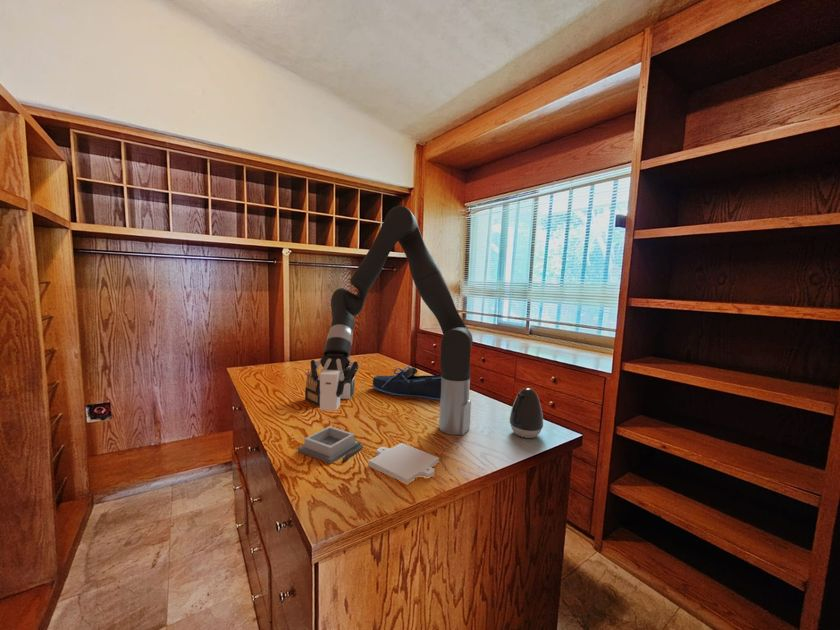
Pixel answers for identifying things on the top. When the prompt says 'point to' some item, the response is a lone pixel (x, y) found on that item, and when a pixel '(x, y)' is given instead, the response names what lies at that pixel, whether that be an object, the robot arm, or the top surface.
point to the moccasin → (409, 384)
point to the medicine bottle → (347, 387)
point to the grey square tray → (329, 444)
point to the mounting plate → (404, 462)
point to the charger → (329, 390)
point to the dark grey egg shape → (526, 414)
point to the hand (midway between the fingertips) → (328, 395)
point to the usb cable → (352, 452)
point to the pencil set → (311, 390)
